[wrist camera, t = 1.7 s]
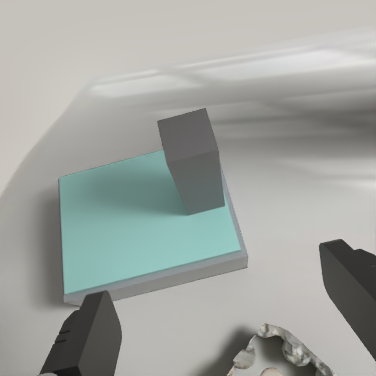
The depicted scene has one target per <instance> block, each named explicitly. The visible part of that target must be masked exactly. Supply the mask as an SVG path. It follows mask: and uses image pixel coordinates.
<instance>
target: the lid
mask: <svg viewBox="0 0 376 376" xmlns="http://www.w3.org/2000/svg"><path fill="white" fill-rule="evenodd" d="M157 122H158V127H159V132H160V136H161V141H162V145H163V150H160V151H156V152H153V153H149V154H145V155H141V156H138V157H134V158H130V159H127V160H123V161H119V162H115V163H112V164H108V165H104V166H100V167H97V168H93V169H89V170H85V171H82V172H78V173H74V174H70V175H67V176H63V177H59V184H60V206H61V229H62V251H63V273H64V294H66V295H72V294H76V293H80V292H84V291H88V290H92V289H96V288H100V287H104V286H108V285H111V284H115V283H119V282H123V281H127V280H131V279H135V278H139V277H143V276H147V275H151V274H155V273H159V272H163V271H167V270H171V269H175V268H179V267H183V266H187V265H191V264H195V263H199V262H203V261H207V260H210V259H214V258H218V257H222V256H226V255H230V254H234V253H238V252H241V248H240V245H239V242H238V238H237V235H236V231H235V228H234V225H233V221H232V218H231V214H230V211H229V208H228V204H227V201H226V197H225V194H224V191H223V184H222V176H221V168H220V160H219V152H218V147H217V144H216V141H215V137H214V134H213V131H212V128H211V124H210V121H209V118H208V114H207V111H206V108H204V109H200V110H197V111H193V112H189V113H186V114H182V115H178V116H174V117H171V118H167V119H163V120H160V121H157Z"/></svg>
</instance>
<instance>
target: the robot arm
mask: <svg viewBox="0 0 376 376" xmlns="http://www.w3.org/2000/svg"><path fill="white" fill-rule="evenodd" d="M319 251H320V259H321V267H322V275H323V282H324V286H325V289H326V291H327V293H328V295H329V297H330V299H331V300H332V301H333V303H334V304H335V305H336V307H337V308H338V310H339V311H340V312H341V314H342V315H343V317H344V318H345V319H346V321H347V322H348V323H349V325H350V326H351V328H352V329H353V330H354V332H355V333H356V335H357V336H358V337H359V339H360V340H361V341H362V343H363V344H364V346H365V347H366V348H367V350H368V351H369V352H370V354H371V355H372V357H373V358H374V359H375V361H376V256H375V255H374V254H372V253H369V252H367V251H364V250H362V249H357V250H353V249H352V248H351V247H350V246H349V245H348V244H347V243H346V242H345V241H343V240H342V239H338V240H333V241H329V242H324V243H320V245H319ZM121 340H122V331H121V325H120V322H119V319H118V316H117V313H116V311H115V308H114V305H113V302H112V299H111V296H110V294H109V292H108V291H107V290H104V291H100V292H95V293H91V294H87V295H86V296H85V298H84V300H83V303H82V305H81V307H80V309H79V310H76V311H74V312H73V313H72V314H71V315H70V316H69V317H68V318H67V319H66V320H65V321H64V323H63V325H62V327H61V330H60V332H59V335H58V336H57V338H56V340H55V344H53V346H52V348H51V351H50V353H49V355H48V357H47V359H46V361H45V363H44V365H43V367H42V369H41V372H40V374H39V375H38V376H114V373H115V369H116V364H117V359H118V355H119V350H120V345H121Z"/></svg>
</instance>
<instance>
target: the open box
mask: <svg viewBox="0 0 376 376" xmlns="http://www.w3.org/2000/svg"><path fill="white" fill-rule="evenodd" d="M220 168H221V165H220ZM221 176H222V184H223V191H224V194H225V197H226V201H227V204H228V208H229V211H230V214H231V218H232V221H233V225H234V228H235V231H236V235H237V238H238V242H239V245H240V248H241V252H238V253H234V254H230V255H226V256H222V257H218V258H214V259H210V260H207V261H203V262H199V263H195V264H191V265H187V266H183V267H179V268H175V269H171V270H167V271H163V272H159V273H155V274H151V275H147V276H143V277H139V278H135V279H131V280H127V281H123V282H119V283H115V284H111V285H108V286H104V287H100V288H96V289H92V290H88V291H84V292H80V293H76V294H72V295H66V294H64V273H63V251H62V229H61V206H60V184H59V206H60V229H61V252H62V275H63V298H64V302H65V303H69V304H73V305H77V306H81V305H82V303H83V300H84V298H85V296H86V295H87V294H91V293H95V292H100V291H104V290H107V291H108V292H109V294H110V296H111V299H112V301H116V300H120V299H124V298H128V297H132V296H136V295H140V294H144V293H148V292H152V291H156V290H160V289H164V288H168V287H172V286H176V285H180V284H184V283H188V282H192V281H196V280H200V279H204V278H208V277H212V276H216V275H220V274H224V273H228V272H232V271H236V270H240V269H244V268H247V264H248V254H247V251H246V248H245V244H244V241H243V238H242V234H241V231H240V228H239V224H238V221H237V218H236V214H235V211H234V208H233V204H232V201H231V198H230V195H229V191H228V188H227V185H226V181H225V178H224V175H223V171H222V168H221ZM58 183H59V178H58Z"/></svg>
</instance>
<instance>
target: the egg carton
mask: <svg viewBox="0 0 376 376" xmlns="http://www.w3.org/2000/svg"><path fill="white" fill-rule="evenodd" d="M257 335H258V336H261V337H263V338H266V337H271V336H274V335H278V336H280V337H281V338H282V339H283V340H284V341H283V343H282V353H283V355H284V357H285V358H286V360H288V361H289V362H291V363H292V364H294V365H297V366H305V365H307V364H308V363H309V362H311V363H312V364H313V365H314V366H315V367H316V368H317V369H316V372H315V376H337V375H336V374H335V373H334V372H333V371H332V370H331V369H330V368H329V367H328V366H327V365H325V364H324V363H323V362H322V361H321V360H320V359H319V358H318V357H317V356H316V355H314V354H313V353H312V352H311V351H310V350H309V349H308V348H307V347H306V346H305V345H304V344H303V343H301V342H300V341H299V340H298V339H297V338H296V337H294V336H293V335H292V334H291V333H289V332H288V331H287V330H285V329H283V328H280V327H277V326H273V325H269V324H266V323H265V324H264V325H262V327H261V328H260V330H259V331H258V333H257V334H255V336H257ZM255 336H254V337H255ZM254 337H253V338H252V339H251V340H250V342H249V343H248V346H247V347H246V349H242V350H241V351H240V352H239V353H238V354H237V356H236V357H235V358H234V359H233V361H234V365H233V366H232V368H231V370H230V371H229V373H228V374H227V375H226V376H232V374H233V372H234V366H235V367H237V368H239V369H247V368H249V367H251V366H252V365H253V364H254V362H255V358H256V354H255V350H254V348H253V346H252V344H251V341H252V340H253V339H254ZM261 376H284V375H283V374H282V372H281V371H280V370H278V369H276V368H267V369H265V370H264V371H263V372H262V374H261Z"/></svg>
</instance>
